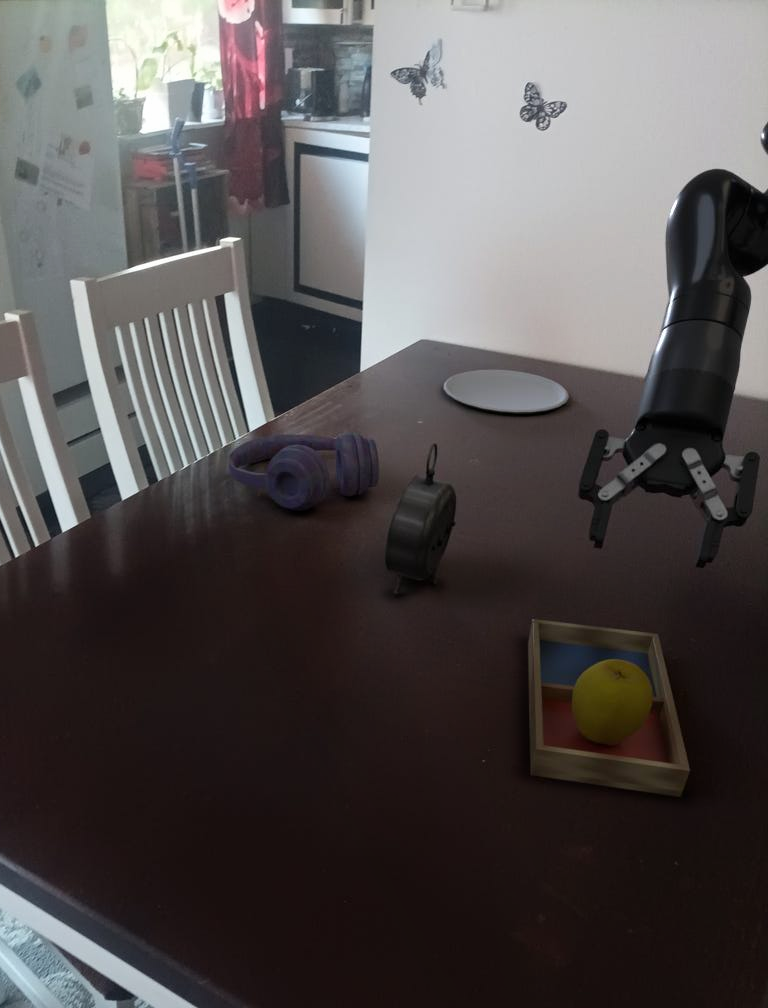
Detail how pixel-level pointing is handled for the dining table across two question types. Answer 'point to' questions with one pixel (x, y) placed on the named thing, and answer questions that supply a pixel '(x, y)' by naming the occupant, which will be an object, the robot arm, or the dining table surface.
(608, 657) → the sorting tray
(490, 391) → the plate
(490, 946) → the dining table surface
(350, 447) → the headphones
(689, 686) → the dining table surface
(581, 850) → the dining table surface
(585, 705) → the apple
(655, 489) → the robot arm
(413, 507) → the alarm clock
